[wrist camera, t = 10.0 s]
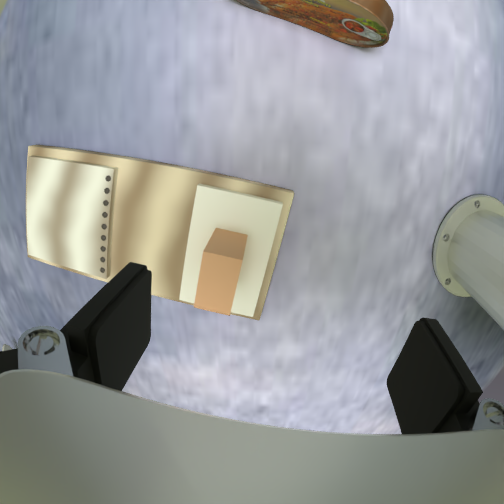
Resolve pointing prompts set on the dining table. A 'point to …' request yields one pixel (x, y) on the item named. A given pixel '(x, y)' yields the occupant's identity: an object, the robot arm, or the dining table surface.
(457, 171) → the dining table surface
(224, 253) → the stub
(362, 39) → the tin
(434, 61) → the dining table surface
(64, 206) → the ticket pad
